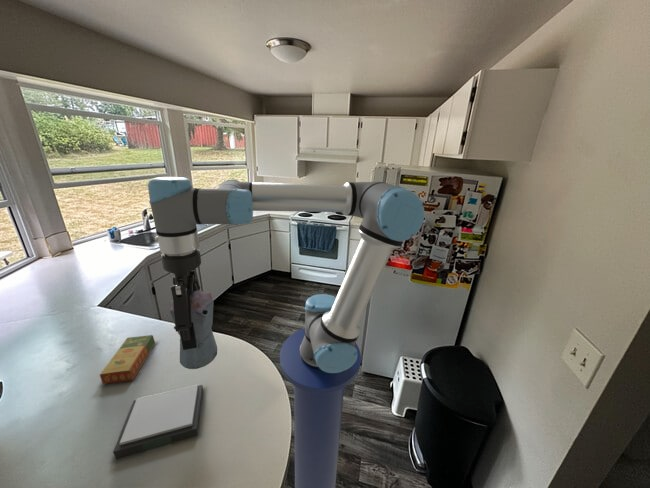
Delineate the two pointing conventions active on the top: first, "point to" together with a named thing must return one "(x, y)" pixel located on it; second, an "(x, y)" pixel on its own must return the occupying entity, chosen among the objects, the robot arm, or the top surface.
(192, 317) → the moka pot
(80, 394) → the top surface
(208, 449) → the top surface
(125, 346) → the carton
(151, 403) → the kitchen scale
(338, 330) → the robot arm
